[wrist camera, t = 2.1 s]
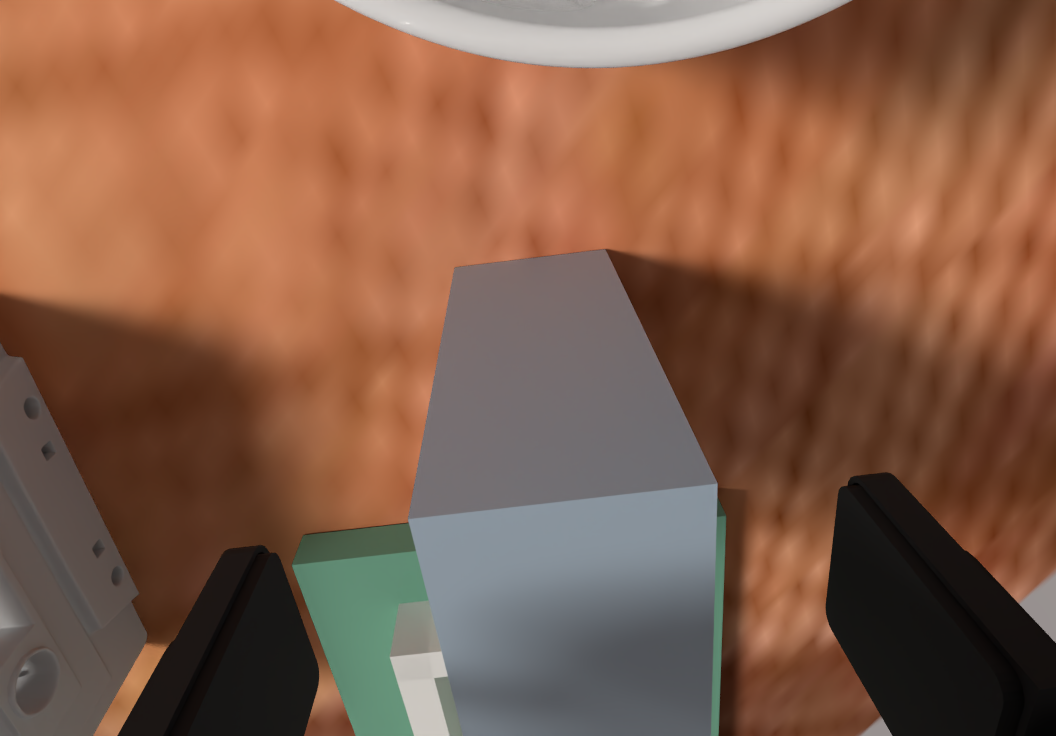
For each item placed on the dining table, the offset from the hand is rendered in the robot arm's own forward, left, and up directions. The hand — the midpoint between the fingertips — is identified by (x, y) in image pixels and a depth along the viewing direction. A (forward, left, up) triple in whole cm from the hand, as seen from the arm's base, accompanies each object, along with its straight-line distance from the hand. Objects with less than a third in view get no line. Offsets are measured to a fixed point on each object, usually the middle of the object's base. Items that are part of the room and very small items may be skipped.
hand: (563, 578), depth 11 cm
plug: (-1, 0, -7) cm, 7 cm away
